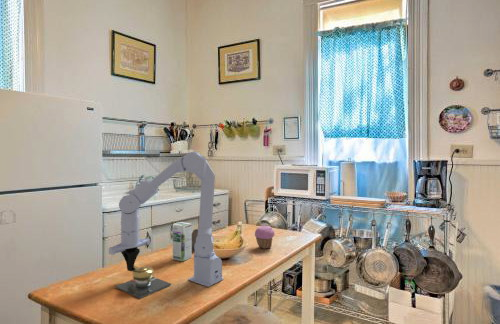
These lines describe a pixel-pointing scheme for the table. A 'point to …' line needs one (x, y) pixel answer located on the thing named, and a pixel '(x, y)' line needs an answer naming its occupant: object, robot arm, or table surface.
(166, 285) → the dark grey plate
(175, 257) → the syrup box
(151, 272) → the brass lever handle
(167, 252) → the table surface
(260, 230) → the cupcake
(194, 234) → the vase
